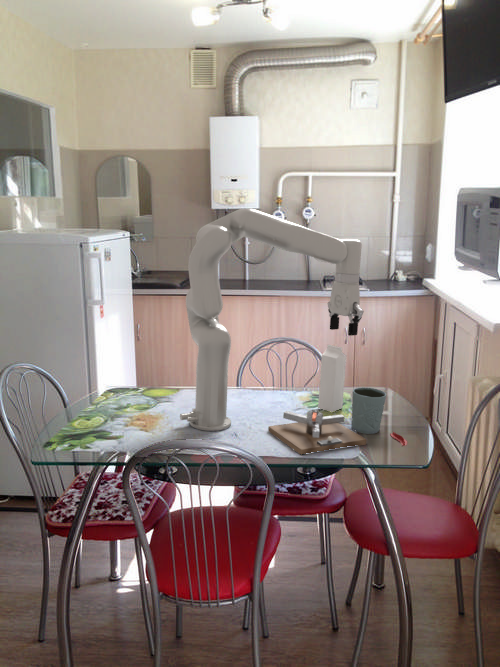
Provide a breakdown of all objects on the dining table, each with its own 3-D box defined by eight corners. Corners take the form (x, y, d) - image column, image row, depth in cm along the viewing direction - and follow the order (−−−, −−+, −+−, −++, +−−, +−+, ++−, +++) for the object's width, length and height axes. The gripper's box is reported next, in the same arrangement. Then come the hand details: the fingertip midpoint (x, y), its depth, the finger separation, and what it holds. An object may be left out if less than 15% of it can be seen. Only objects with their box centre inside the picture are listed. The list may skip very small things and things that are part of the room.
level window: (321, 446, 164) (321, 444, 164) (316, 443, 167) (316, 441, 166) (342, 443, 168) (342, 440, 167) (337, 440, 170) (337, 437, 170)
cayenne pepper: (408, 449, 171) (409, 442, 170) (392, 447, 171) (392, 441, 171) (404, 434, 182) (405, 428, 182) (389, 433, 183) (390, 427, 183)
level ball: (329, 442, 166) (329, 437, 166) (326, 440, 167) (326, 435, 167) (333, 441, 167) (333, 437, 166) (330, 439, 168) (330, 435, 168)
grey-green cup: (347, 422, 189) (350, 386, 187) (379, 424, 189) (382, 388, 187) (352, 434, 179) (355, 396, 177) (385, 435, 179) (389, 397, 177)
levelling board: (300, 455, 162) (301, 449, 162) (268, 431, 178) (268, 426, 178) (366, 444, 172) (366, 439, 171) (329, 422, 188) (329, 418, 188)
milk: (332, 413, 198) (337, 349, 193) (317, 408, 202) (321, 345, 197) (342, 409, 202) (347, 346, 198) (327, 405, 206) (332, 343, 202)
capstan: (313, 445, 164) (315, 423, 162) (281, 423, 180) (282, 403, 178) (360, 438, 171) (362, 416, 169) (325, 417, 187) (326, 398, 185)
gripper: (321, 276, 192) (318, 327, 196) (354, 282, 177) (350, 338, 181) (340, 275, 196) (336, 326, 199) (374, 281, 181) (369, 336, 184)
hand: (343, 332), depth 190 cm, fingers open, 9 cm apart
